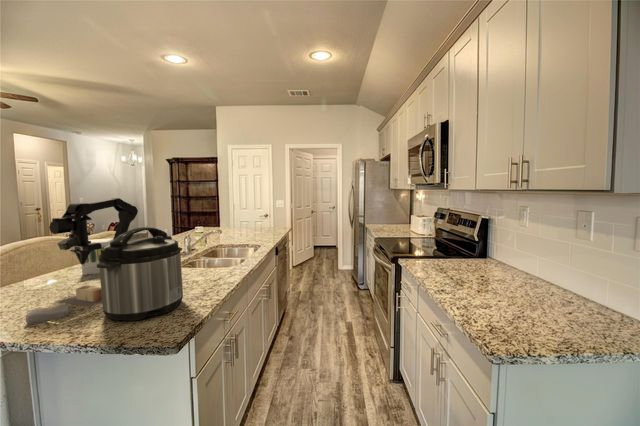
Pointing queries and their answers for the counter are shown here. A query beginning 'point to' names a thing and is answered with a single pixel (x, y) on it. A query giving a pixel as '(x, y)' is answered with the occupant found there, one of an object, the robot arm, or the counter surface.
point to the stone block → (47, 314)
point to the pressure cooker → (140, 275)
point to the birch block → (89, 293)
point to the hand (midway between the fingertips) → (82, 264)
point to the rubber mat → (78, 301)
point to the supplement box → (94, 257)
